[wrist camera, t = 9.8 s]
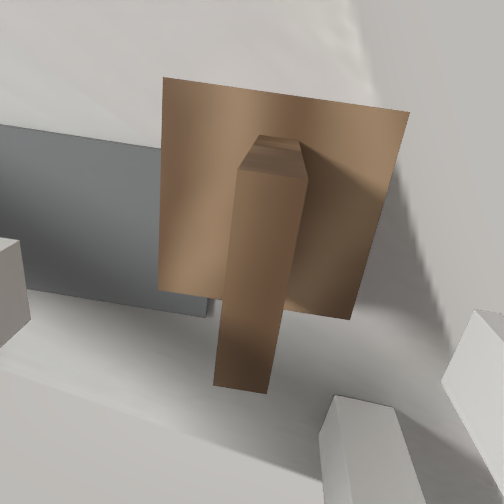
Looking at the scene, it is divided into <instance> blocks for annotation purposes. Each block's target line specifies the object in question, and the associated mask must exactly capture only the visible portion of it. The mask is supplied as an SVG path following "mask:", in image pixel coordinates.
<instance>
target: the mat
mask: <svg viewBox="0 0 504 504" xmlns="http://www.w3.org/2000/svg"><path fill="white" fill-rule="evenodd" d="M160 178H161V149H159V148H152V147H146V146H139V145H133V144H126V143H119V142H113V141H106V140H100V139H93V138H87V137H80V136H74V135H67V134H61V133H54V132H48V131H41V130H34V129H28V128H21V127H15V126H8V125H2V124H0V237H1V238H8V239H14V240H19V241H20V248H21V255H22V261H23V268H24V275H25V282H26V289H32V290H38V291H44V292H50V293H56V294H62V295H68V296H74V297H81V298H87V299H93V300H99V301H105V302H111V303H117V304H123V305H130V306H136V307H142V308H148V309H154V310H160V311H166V312H172V313H179V314H185V315H191V316H197V317H203V318H205V317H206V314H207V305H208V298H207V297H200V296H194V295H188V294H181V293H175V292H169V291H162V290H158V258H159V218H160Z"/></svg>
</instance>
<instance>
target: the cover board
mask: <svg viewBox="0 0 504 504" xmlns="http://www.w3.org/2000/svg"><path fill="white" fill-rule="evenodd" d="M409 114H410V112H404V111H398V110H391V109H384V108H377V107H370V106H363V105H356V104H349V103H342V102H334V101H327V100H320V99H313V98H306V97H299V96H292V95H285V94H278V93H271V92H264V91H257V90H250V89H243V88H236V87H229V86H222V85H215V84H208V83H201V82H194V81H187V80H180V79H173V78H165V77H163V99H162V139H161V178H160V218H159V258H158V290H162V291H169V292H175V293H181V294H188V295H194V296H200V297H207V298H213V299H219V300H223V301H222V310H221V319H220V328H219V337H218V346H217V355H216V364H215V373H214V381H213V385H214V386H220V387H226V388H232V389H238V390H244V391H251V392H257V393H263V394H267V390H268V385H269V380H270V375H271V369H272V364H273V359H274V354H275V349H276V344H277V339H278V334H279V328H280V323H281V318H282V313H283V310H289V311H295V312H302V313H308V314H314V315H321V316H327V317H333V318H340V319H346V320H350V318H351V314H352V311H353V307H354V304H355V301H356V297H357V294H358V290H359V287H360V283H361V280H362V276H363V273H364V269H365V266H366V263H367V259H368V256H369V252H370V249H371V245H372V242H373V238H374V235H375V231H376V228H377V225H378V221H379V218H380V214H381V211H382V207H383V204H384V200H385V197H386V193H387V190H388V187H389V183H390V180H391V176H392V173H393V169H394V166H395V162H396V159H397V155H398V152H399V149H400V145H401V142H402V138H403V135H404V131H405V128H406V124H407V121H408V117H409Z"/></svg>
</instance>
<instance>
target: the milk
mask: <svg viewBox="0 0 504 504" xmlns="http://www.w3.org/2000/svg"><path fill="white" fill-rule="evenodd" d="M318 439H319V449H320V460H321V471H322V481H323V492H324V503H325V504H426V502H425V499H424V496H423V493H422V490H421V487H420V484H419V481H418V478H417V475H416V472H415V469H414V466H413V463H412V460H411V457H410V454H409V452H408V449H407V446H406V443H405V440H404V437H403V434H402V431H401V428H400V425H399V422H398V419H397V416H396V413H395V410H394V408H393V407H388V406H384V405H379V404H375V403H370V402H366V401H361V400H357V399H352V398H347V397H343V396H338V395H334V398H333V400H332V403H331V405H330V408H329V410H328V413H327V415H326V418H325V420H324V423H323V425H322V428H321V430H320V433H319V435H318Z"/></svg>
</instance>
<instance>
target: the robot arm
mask: <svg viewBox="0 0 504 504" xmlns="http://www.w3.org/2000/svg"><path fill="white" fill-rule="evenodd" d="M30 320H31V317H30V310H29V303H28V296H27V289H26V282H25V275H24V268H23V261H22V255H21V248H20V241H19V240H14V239H8V238H1V237H0V348H1V347H2V346H3V345H4V344H5V343H6V342H7V341H8V340H9V339H11V338H12V337H13V336H14V335H15V334H16V333H17V332H18V331H19V330H20V329H21V328H22V327H23V326H25V325H26V324H27V323H28V322H29V321H30ZM441 384H442V386H443V388H444V389H445V391H446V393H447V395H448V397H449V398H450V400H451V402H452V404H453V406H454V407H455V409H456V411H457V413H458V415H459V417H460V418H461V420H462V422H463V424H464V426H465V427H466V429H467V431H468V433H469V435H470V437H471V438H472V440H473V442H474V444H475V446H476V447H477V449H478V451H479V453H480V455H481V457H482V458H483V460H484V462H485V464H486V466H487V467H488V469H489V471H490V473H491V475H492V476H493V478H494V480H495V482H496V484H497V486H498V487H499V489H500V491H501V493H502V495H503V496H504V316H503V315H502V314H501V313H495V312H489V311H482V310H474V312H473V314H472V316H471V318H470V320H469V322H468V324H467V327H466V329H465V331H464V333H463V335H462V338H461V340H460V342H459V344H458V346H457V348H456V350H455V352H454V354H453V357H452V359H451V361H450V363H449V365H448V367H447V370H446V372H445V374H444V376H443V378H442V380H441Z"/></svg>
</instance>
